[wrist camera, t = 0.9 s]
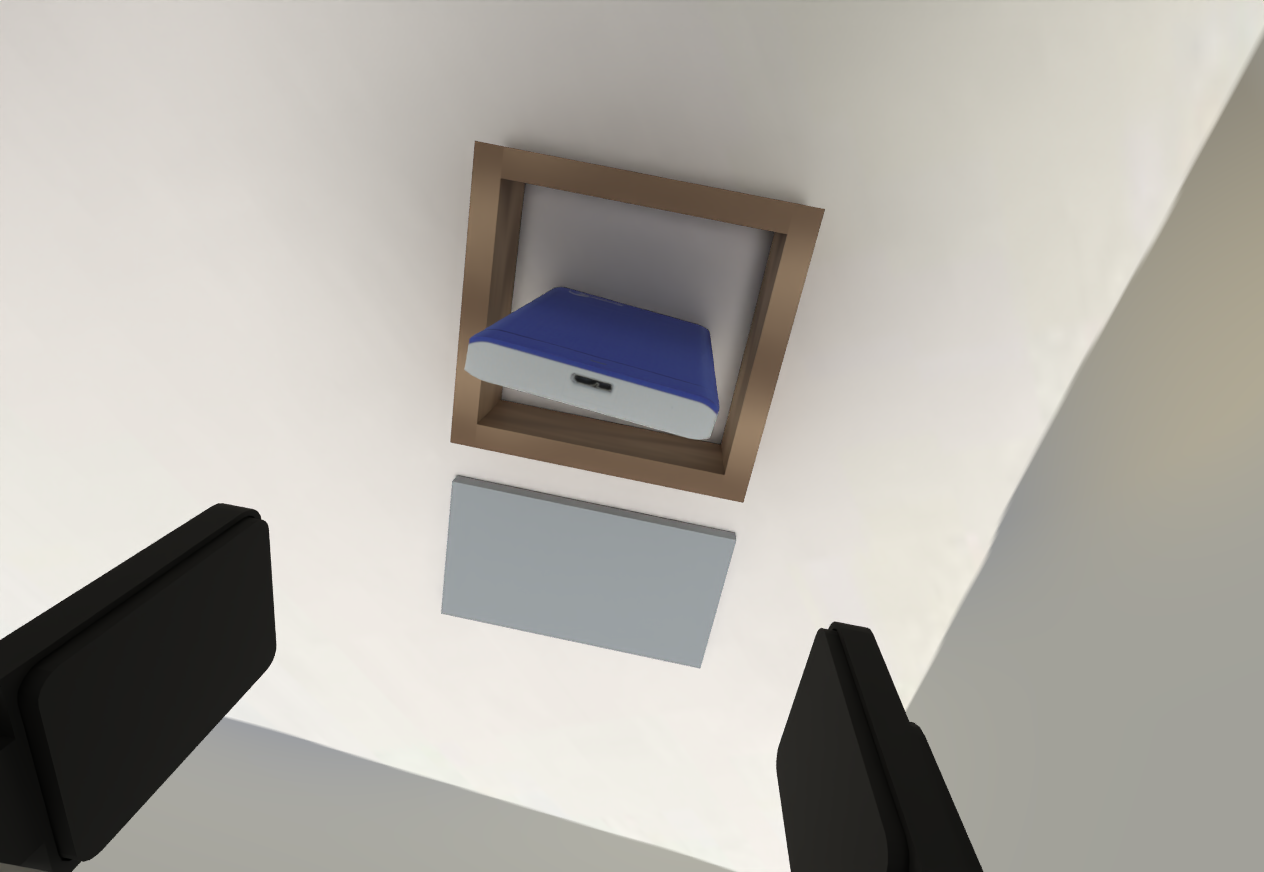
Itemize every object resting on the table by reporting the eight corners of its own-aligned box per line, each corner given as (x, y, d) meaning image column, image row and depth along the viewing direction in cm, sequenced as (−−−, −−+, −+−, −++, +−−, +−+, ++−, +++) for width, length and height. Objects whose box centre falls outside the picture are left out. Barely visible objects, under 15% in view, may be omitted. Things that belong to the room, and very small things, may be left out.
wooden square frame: (503, 149, 29) (474, 141, 25) (807, 208, 28) (824, 209, 25) (477, 416, 34) (450, 442, 30) (737, 469, 33) (743, 502, 30)
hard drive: (553, 283, 31) (470, 329, 19) (711, 327, 31) (723, 400, 19) (547, 314, 31) (462, 376, 20) (702, 357, 31) (708, 445, 20)
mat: (457, 475, 35) (452, 481, 34) (735, 533, 35) (736, 540, 34) (446, 605, 38) (441, 613, 37) (700, 659, 38) (700, 668, 37)
